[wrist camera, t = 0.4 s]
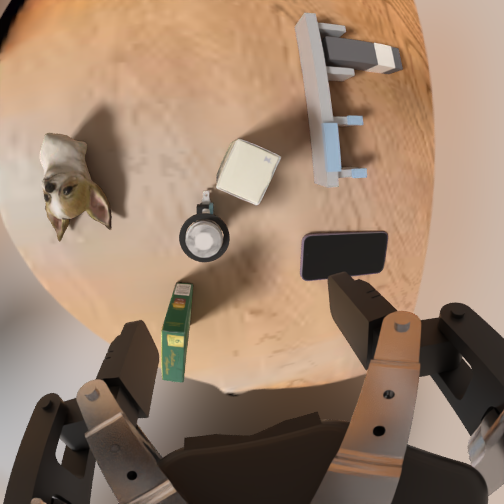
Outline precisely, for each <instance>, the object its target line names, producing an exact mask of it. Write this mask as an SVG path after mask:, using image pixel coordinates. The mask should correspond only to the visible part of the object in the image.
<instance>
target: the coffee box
mask: <svg viewBox="0 0 504 504" xmlns="http://www.w3.org/2000/svg"><path fill="white" fill-rule="evenodd" d="M192 294H193V284H189V283H178V282H177V283H176V285H175V288H174V291H173V294H172V298H171V301H170V304H169V307H168V311H167V314H166V317H165V320H164V324H163V327H162V330H161V362H162V379H163V380H167V381H174V382H184V373H185V363H186V353H187V345H188V337H189V328H190V317H191V306H192Z"/></svg>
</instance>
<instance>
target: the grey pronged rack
mask: <svg viewBox="0 0 504 504" xmlns="http://www.w3.org/2000/svg"><path fill="white" fill-rule="evenodd" d="M295 32H296V37H297V43H298V49H299V54H300V61H301V67H302V73H303V80H304V87H305V95H306V102H307V110H308V119H309V128H310V137H311V147H312V158H313V170H314V183H315V184H318V185H322V186H325V187H339V183H338V178H343V177H352V178H365V177H367V168H356V167H341V157H340V145H339V134H338V126H343V127H349V126H355V125H363V118H362V116H347V117H333V113H332V105H331V97H330V90H329V83H328V81H344V80H346V79H348V78H350V77H353V76H355V74H354V69H351V68H341V67H327V66H326V64H325V58H324V53H323V47H322V42H321V39H323V38H325V37H326V36H327V37H337V38H339V37H340V36H341V35H343V34H344V33H345V32H346V28H345V26H342V25H335V24H326V23H317V18H316V14H313V13H304V14H303V16H302V17H301V18H300V20H299V21H298V23H297V24H296V26H295Z"/></svg>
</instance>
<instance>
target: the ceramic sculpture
mask: <svg viewBox="0 0 504 504" xmlns="http://www.w3.org/2000/svg"><path fill="white" fill-rule="evenodd" d="M86 150H87V144H86V142H84V141H76V140H73V139H72V138H70V137H69V136H67V135H63V134H53V133H47V134H45V137H44V141H43V143H42V146H41V150H40V161H41V164H42V166H43V169H44V179H43V181H42V186H43V191H44V199H45V202H46V206H45V210H46V212H47V217H48V219H49V220H50V221H51V224H52V226H53V227H54V228H55V231H56V233H57V237H58V240H59V241H61V239H62V237H63V234H64V232H65V231H66V229H67V227H68V225H69V219H71V218H74V217H77V216H78V215H80V214H81V213H82V212H84V211H87V213H88V214H89V216H90V217H91V218H93V219H94V220H96V221H98V222H100V223H102V224H103V225H105V226H106V227H107V228H108V229H109V230H111V218H112V216H111V210H110V204H109V202H108V200H107V197H106V195H105V194H104V192H103V191H102V189H101V188H100V187H99V186H98V185H97V184H96V183H94V182H93V181H92V180H91V177H90V174H89V172H88V169H87V165H86V163H85V154H86Z"/></svg>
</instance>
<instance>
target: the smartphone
mask: <svg viewBox="0 0 504 504" xmlns="http://www.w3.org/2000/svg"><path fill="white" fill-rule="evenodd" d="M387 241H388V235H387V233H385V232H345V233H318V234H307V235H305V236H304V237H303V239H302V246H301V266H300V275H301V277H302V279H303V280H305V281H312V280H322V279H328V276H331V275H334V274H338V273H341V272H347V273H348V274H349V275H350V276H359V275H368V274H376V273H380V272H381V271H382V270H383V268H384V262H385V256H386V249H387Z"/></svg>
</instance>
